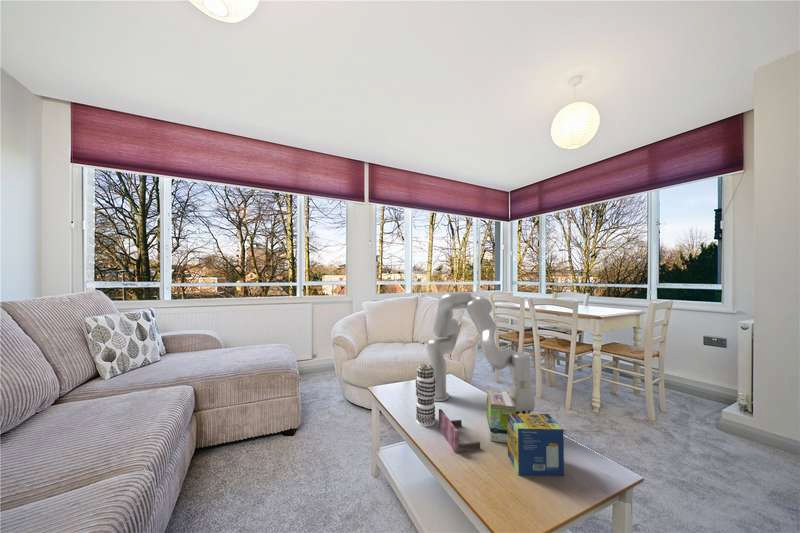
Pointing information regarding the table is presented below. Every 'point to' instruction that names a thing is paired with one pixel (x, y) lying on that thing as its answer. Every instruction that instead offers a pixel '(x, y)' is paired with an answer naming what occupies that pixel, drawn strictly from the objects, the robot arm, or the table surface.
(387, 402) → the table surface
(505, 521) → the table surface
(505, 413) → the tea box
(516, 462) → the protein box
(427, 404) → the decorative candle
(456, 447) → the stand
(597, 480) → the table surface
